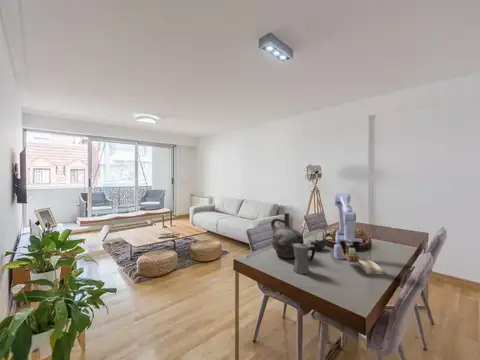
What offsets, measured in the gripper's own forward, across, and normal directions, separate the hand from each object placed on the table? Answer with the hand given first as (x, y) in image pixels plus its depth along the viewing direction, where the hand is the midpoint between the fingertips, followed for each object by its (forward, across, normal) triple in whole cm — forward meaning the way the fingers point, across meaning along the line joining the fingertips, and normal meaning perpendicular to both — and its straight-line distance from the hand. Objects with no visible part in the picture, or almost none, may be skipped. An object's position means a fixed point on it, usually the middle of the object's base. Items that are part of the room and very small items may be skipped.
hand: (349, 253), depth 139 cm
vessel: (+8, -36, +16) cm, 40 cm away
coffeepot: (+8, -29, -10) cm, 32 cm away
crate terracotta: (-2, 0, +4) cm, 4 cm away
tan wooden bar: (+2, 0, 0) cm, 2 cm away
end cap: (+9, -12, +31) cm, 34 cm away
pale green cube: (-2, 0, -4) cm, 5 cm away
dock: (+8, +12, +1) cm, 15 cm away
